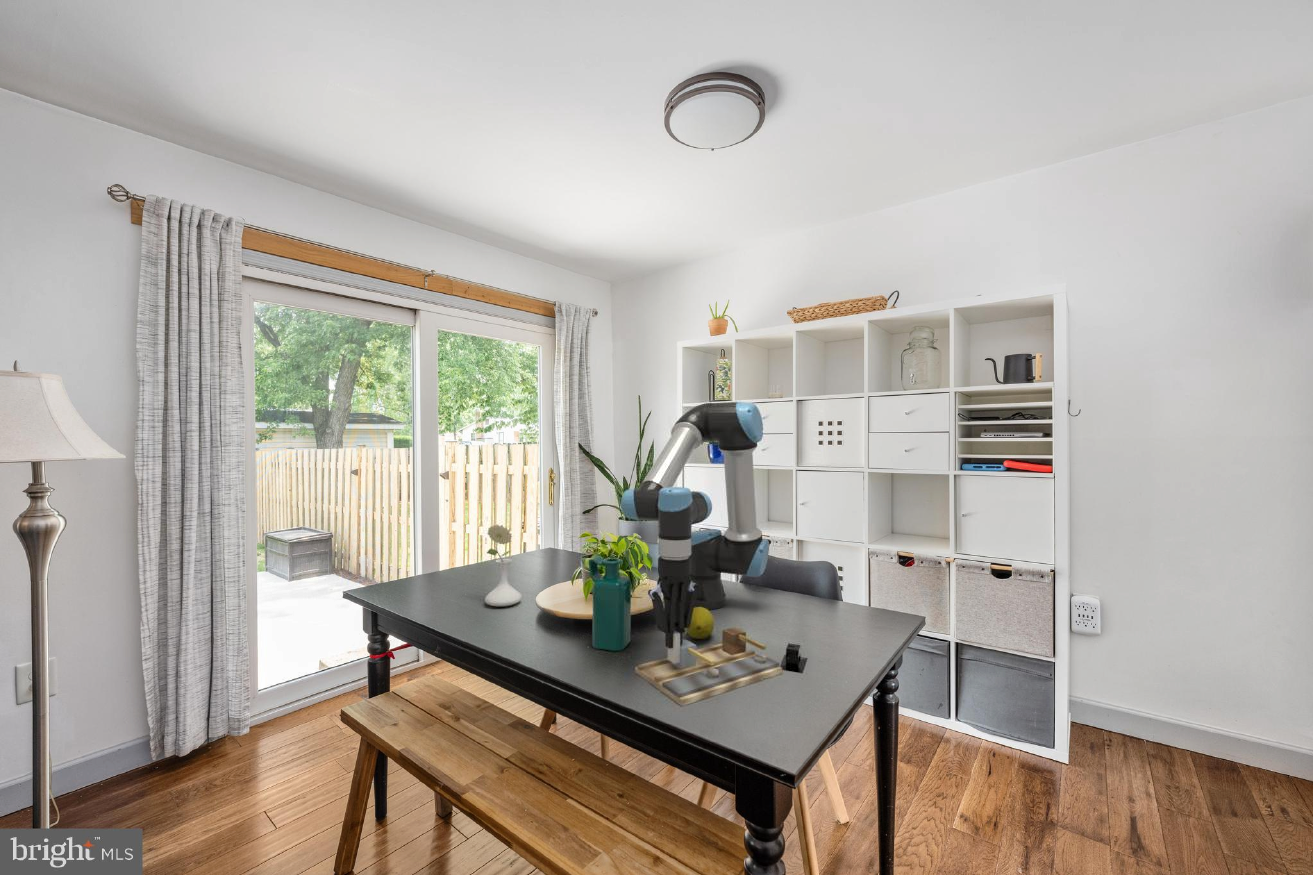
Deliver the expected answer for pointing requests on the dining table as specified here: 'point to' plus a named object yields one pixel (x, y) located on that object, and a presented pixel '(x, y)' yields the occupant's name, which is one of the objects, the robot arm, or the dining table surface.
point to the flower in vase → (501, 571)
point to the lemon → (700, 623)
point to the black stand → (793, 659)
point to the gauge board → (706, 692)
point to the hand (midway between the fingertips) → (673, 660)
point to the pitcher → (610, 605)
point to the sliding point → (690, 656)
